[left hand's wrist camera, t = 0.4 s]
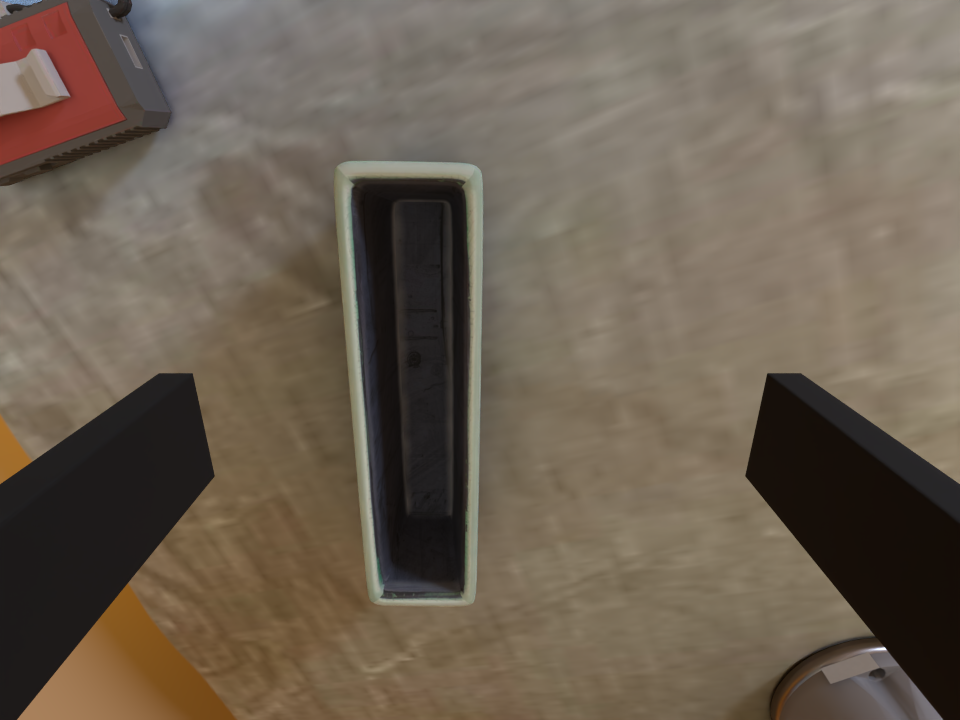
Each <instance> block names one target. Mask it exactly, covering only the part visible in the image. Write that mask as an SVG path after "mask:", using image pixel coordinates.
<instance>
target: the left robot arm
mask: <svg viewBox="0 0 960 720" xmlns="http://www.w3.org/2000/svg"><path fill="white" fill-rule="evenodd" d="M213 478H214V471H213V466H212V462H211V457H210V452H209V448H208V443H207V438H206V434H205V429H204V424H203V420H202V415H201V410H200V406H199V401H198V396H197V392H196V387H195V382H194V378H193V373H159V374H158V375H156V376H155V377H153V378H152V379H150V380H149V381H148V382H146V383H145V384H143V385H142V386H140V387H139V388H137V389H136V390H135V391H133V392H132V393H130V394H129V395H127V396H126V397H125V398H123V399H122V400H120V401H119V402H117V403H116V404H115V405H113V406H112V407H110V408H109V409H107V410H106V411H105V412H103V413H102V414H100V415H99V416H97V417H96V418H95V419H93V420H92V421H90V422H89V423H87V424H86V425H84V426H83V427H82V428H80V429H79V430H77V431H76V432H74V433H73V434H72V435H70V436H69V437H67V438H66V439H64V440H63V441H62V442H60V443H59V444H57V445H56V446H54V447H53V448H52V449H50V450H49V451H47V452H46V453H44V454H43V455H42V456H40V457H39V458H37V459H36V460H34V461H33V462H31V463H30V464H29V465H27V466H26V467H24V468H23V469H21V470H20V471H19V472H17V473H16V474H14V475H13V476H11V477H10V478H9V479H7V480H6V481H4V482H3V483H1V484H0V720H17V719H18V718H19V716H20V715H21V714H22V713H23V711H24V710H25V709H26V708H27V706H28V705H29V704H30V703H31V702H32V700H33V699H34V698H35V697H36V695H37V694H38V693H39V692H40V690H41V689H42V688H43V687H44V686H45V684H46V683H47V682H48V681H49V679H50V678H51V677H52V676H53V674H54V673H55V672H56V671H57V670H58V668H59V667H60V666H61V665H62V663H63V662H64V661H65V660H66V658H67V657H68V656H69V655H70V654H71V652H72V651H73V650H74V649H75V647H76V646H77V645H78V644H79V642H80V641H81V640H82V639H83V638H84V636H85V635H86V634H87V633H88V631H89V630H90V629H91V628H92V626H93V625H94V624H95V623H96V621H97V620H98V619H99V618H100V617H101V615H102V614H103V613H104V612H105V610H106V609H107V608H108V607H109V606H110V604H111V603H112V602H113V601H114V599H115V598H116V597H117V596H118V594H119V593H120V592H121V591H122V590H123V588H124V587H125V586H126V585H127V583H128V582H129V581H130V580H131V578H132V577H133V576H134V575H135V574H136V572H137V571H138V570H139V569H140V567H141V566H142V565H143V564H144V562H145V561H146V560H147V559H148V558H149V556H150V555H151V554H152V553H153V551H154V550H155V549H156V548H157V546H158V545H159V544H160V543H161V542H162V540H163V539H164V538H165V537H166V535H167V534H168V533H169V532H170V530H171V529H172V528H173V527H174V526H175V524H176V523H177V522H178V521H179V519H180V518H181V517H182V516H183V514H184V513H185V512H186V511H187V510H188V508H189V507H190V506H191V505H192V503H193V502H194V501H195V500H196V498H197V497H198V496H199V495H200V494H201V492H202V491H203V490H204V489H205V487H206V486H207V485H208V484H209V482H210V481H211V480H212V479H213ZM746 478H747V479H748V480H749V481H750V482H751V484H752V485H753V486H754V487H755V489H756V490H757V491H758V492H759V494H760V495H761V496H762V497H763V498H764V500H765V501H766V502H767V503H768V505H769V506H770V507H771V508H772V510H773V511H774V512H775V513H776V514H777V516H778V517H779V518H780V519H781V521H782V522H783V523H784V524H785V526H786V527H787V528H788V529H789V530H790V532H791V533H792V534H793V535H794V537H795V538H796V539H797V540H798V542H799V543H800V544H801V545H802V546H803V548H804V549H805V550H806V551H807V553H808V554H809V555H810V556H811V558H812V559H813V560H814V561H815V562H816V564H817V565H818V566H819V567H820V569H821V570H822V571H823V572H824V574H825V575H826V576H827V577H828V578H829V580H830V581H831V582H832V583H833V585H834V586H835V587H836V588H837V590H838V591H839V592H840V593H841V594H842V596H843V597H844V598H845V599H846V601H847V602H848V603H849V604H850V606H851V607H852V608H853V609H854V610H855V612H856V613H857V614H858V615H859V617H860V618H861V619H862V620H863V622H864V623H865V624H866V625H867V626H868V628H869V629H870V630H871V631H872V633H873V634H874V635H875V636H876V638H877V639H878V640H879V641H880V642H881V644H882V645H883V646H884V647H885V649H886V650H887V651H888V652H889V654H890V655H891V656H892V657H893V658H894V660H895V661H896V662H897V663H898V665H899V666H900V667H901V668H902V670H903V671H904V672H905V673H906V674H907V676H908V677H909V678H910V679H911V681H912V682H913V683H914V684H915V686H916V687H917V688H918V689H919V690H920V692H921V693H922V694H923V695H924V697H925V698H926V699H927V700H928V702H929V703H930V704H931V705H932V706H933V708H934V709H935V710H936V711H937V713H938V714H939V715H940V716H941V718H942V719H943V720H960V484H959V483H957V482H956V481H954V480H953V479H951V478H950V477H949V476H947V475H946V474H944V473H943V472H941V471H940V470H939V469H937V468H936V467H934V466H933V465H931V464H930V463H929V462H927V461H926V460H924V459H923V458H921V457H920V456H918V455H917V454H916V453H914V452H913V451H911V450H910V449H908V448H907V447H906V446H904V445H903V444H901V443H900V442H898V441H897V440H896V439H894V438H893V437H891V436H890V435H888V434H887V433H886V432H884V431H883V430H881V429H880V428H878V427H877V426H876V425H874V424H873V423H871V422H870V421H868V420H867V419H865V418H864V417H863V416H861V415H860V414H858V413H857V412H855V411H854V410H853V409H851V408H850V407H848V406H847V405H845V404H844V403H843V402H841V401H840V400H838V399H837V398H835V397H834V396H833V395H831V394H830V393H828V392H827V391H825V390H824V389H823V388H821V387H820V386H818V385H817V384H815V383H814V382H812V381H811V380H810V379H808V378H807V377H805V376H804V375H802V374H801V373H767V378H766V382H765V387H764V392H763V396H762V401H761V406H760V410H759V415H758V420H757V424H756V429H755V434H754V438H753V443H752V448H751V452H750V457H749V462H748V466H747V471H746Z"/></svg>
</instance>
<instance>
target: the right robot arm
mask: <svg viewBox="0 0 960 720" xmlns="http://www.w3.org/2000/svg"><path fill="white" fill-rule="evenodd" d="M771 719H772V720H943V719H942V718H941V716H940V715H939V714H938V713H937V711H936V710H935V709H934V708H933V706H932V705H931V704H930V703H929V702H928V700H927V699H926V698H925V697H924V695H923V694H922V693H921V692H920V690H919V689H918V688H917V687H916V686H915V684H914V683H913V682H912V681H911V679H910V678H909V677H908V676H907V674H906V673H905V672H904V671H903V670H902V668H901V667H900V666H899V665H898V663H897V662H896V661H895V660H894V658H893V657H892V656H891V655H890V654H889V652H888V651H887V650H886V649H885V647H884V646H883V645H882V644H881V642H880V641H879V640H878V639H877V638H867V639H859V640H853V641H849V642H845V643H841V644H838V645H835V646H832V647H829V648H827V649H825V650H822V651H820V652H818V653H816V654H814V655H812V656H811V657H809V658H807V659H806V660H804V661H803V662H801V663H800V664H799V665H797V666H796V667H795V668H794V669H793V670H791V671H790V672H789V673H788V674H787V675H786V677H785V678H784V679H783V680H782V681H781V683H780V684H779V686H778V687H777V689H776V691H775V693H774V695H773V698H772V702H771Z"/></svg>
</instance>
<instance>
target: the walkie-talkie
mask: <svg viewBox="0 0 960 720" xmlns="http://www.w3.org/2000/svg"><path fill="white" fill-rule="evenodd" d="M131 7H132V2H131V0H118V4H117V5H113V4H111V3H109V2H107V1H105V0H42V1H41V2H38V3H34V4H32V5H28V6H24V5H19V4H11V3H7V2H4V1H1V0H0V186H6V185H11V184H14V183H17V182H20V181H22V180H23V179H25V178H28V177H31V176H34V175H36V174H42V173H45V172H48V171H50V170H53V168H56V167H59V166H61V165H64V164H67V163H70V162H73V161H75V160H76V159H77V158H84V156H85V155H92V154H93V152H101V149H109V146H117V144H118V143H126V140H134V137H142V136H143V134H151V131H159V129H160V128H166V127H167V124H168V121H169V118H170V115H171V111H170V109H169V107H168V105H167V103H166V101H165V99H164V96H163V94H162V92H161V90H160V88H159V86H158V84H157V82H156V80H155V78H154V76H153V73H152V71H151V69H150V67H149V65H148V63H147V61H146V59H145V57H144V55H143V52H142V50H141V48H140V46H139V44H138V42H137V40H136V38H135V36H134V34H133V31H132V29H131V27H130V25H129V23H128V21H127V19H126V17H125V16H126V15H127V14H128V13H129V12H130V11H131Z"/></svg>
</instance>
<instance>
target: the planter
mask: <svg viewBox="0 0 960 720" xmlns="http://www.w3.org/2000/svg"><path fill="white" fill-rule="evenodd" d="M334 201H335V217H336V230H337V243H338V256H339V268H340V280H341V293H342V305H343V317H344V329H345V341H346V353H347V365H348V377H349V389H350V401H351V413H352V425H353V436H354V448H355V460H356V471H357V483H358V495H359V506H360V517H361V529H362V540H363V551H364V562H365V573H366V582H367V590H368V596H369V599H370V601H371V602H373V603H375V604H378V605H389V606H467V605H470V604H472V603H473V602H474V599H475V595H476V581H477V546H478V500H479V449H480V394H481V336H482V271H483V181H482V174H481V171H480V169H479V168H478V167H476V166H475V165H472V164H468V163H453V162H413V161H347V162H343V163H341V164H339V165H338V166H337V167H336V168H335V171H334Z"/></svg>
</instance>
